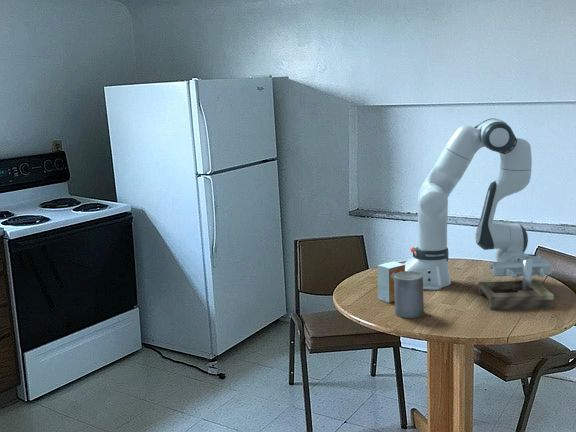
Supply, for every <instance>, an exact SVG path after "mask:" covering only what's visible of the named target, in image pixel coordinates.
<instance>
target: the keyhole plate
mask: <svg viewBox="0 0 576 432" xmlns="http://www.w3.org/2000/svg"><path fill="white" fill-rule="evenodd" d="M522 285H523V280H512V281H511V280H509V281H508V280H507V281H480V282H478V296H480V297H481V296H482V297H487V298H488V301H489V302H488V303H489V305H488V308H489V309H490V311H496V310H498V311H499V310H526V309H527V310H528V309H529V310H530V309H554V306H555V305H554V303H555V295H554V294H553V293H552V292H551V291H549V289H548V288H546V287H545V286H544V285H542V283H540V282H539V281H538V280H532V289H531V290H522Z"/></svg>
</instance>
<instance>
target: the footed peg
mask: <svg viewBox="0 0 576 432" xmlns="http://www.w3.org/2000/svg"><path fill="white" fill-rule="evenodd" d="M522 281H523V285H522V290H531V289H532V281H533V275H532V259H529V258H525V259H523V276H522Z"/></svg>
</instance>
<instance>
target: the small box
mask: <svg viewBox="0 0 576 432" xmlns="http://www.w3.org/2000/svg"><path fill="white" fill-rule="evenodd" d="M404 271H405V264H404V263H401V262H398V261H394V260H393V261H389V262H385V263H382V264H381V263H380V264H378V265H377V300H381V301H383V302H385V303H393V302H394V303H395V291H394V275H395V274H396V273H399V272H404Z"/></svg>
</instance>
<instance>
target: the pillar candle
mask: <svg viewBox="0 0 576 432" xmlns="http://www.w3.org/2000/svg"><path fill="white" fill-rule="evenodd" d="M394 291H395V301H394V315H396V316H397V317H399V316H400V317H399V318H402V317H404V318H406V319H416V318H420V317H422V316H423V315H424V313H425V310H424V309H425V307H424V289H423V275H422V274H421V273H419V272H413V271H404V272H399V273H396V274H395V275H394Z"/></svg>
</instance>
